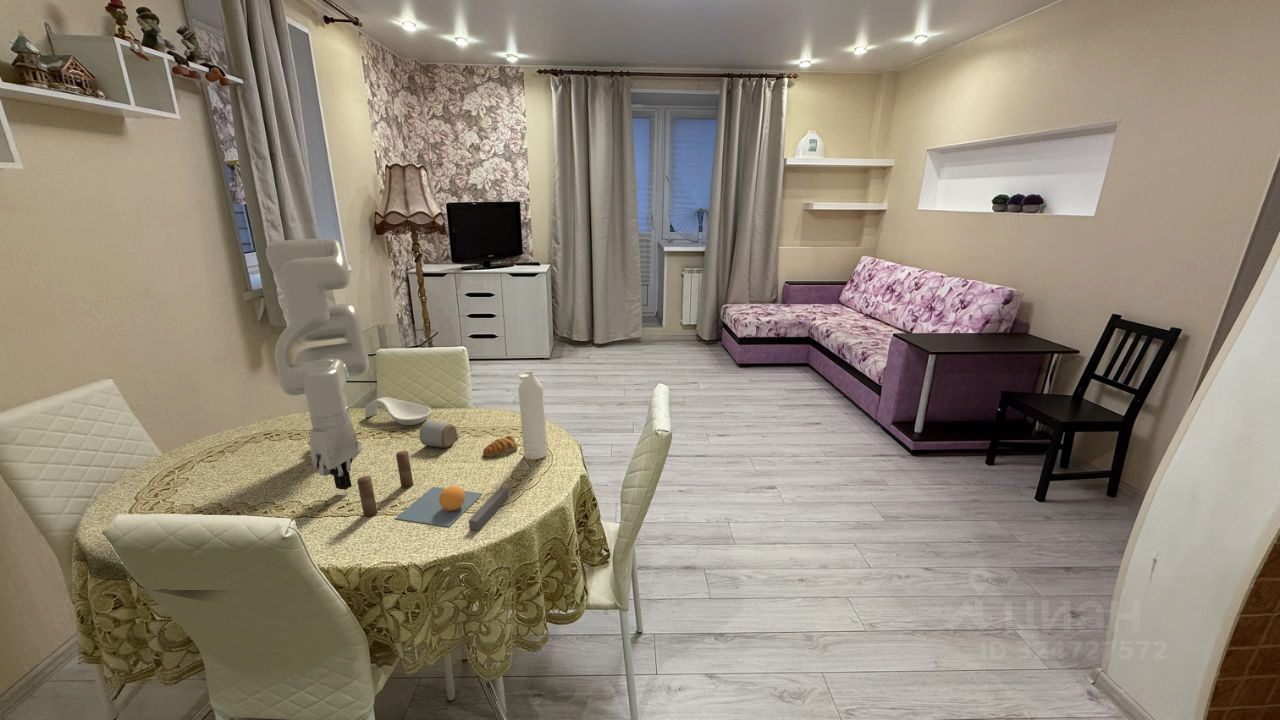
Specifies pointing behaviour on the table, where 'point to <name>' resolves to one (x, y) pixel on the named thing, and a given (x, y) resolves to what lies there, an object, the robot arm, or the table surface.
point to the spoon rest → (400, 410)
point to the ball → (452, 498)
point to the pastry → (500, 447)
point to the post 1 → (367, 496)
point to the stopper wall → (488, 509)
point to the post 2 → (404, 469)
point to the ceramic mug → (437, 434)
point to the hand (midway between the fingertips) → (343, 487)
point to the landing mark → (436, 509)
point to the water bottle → (532, 416)
